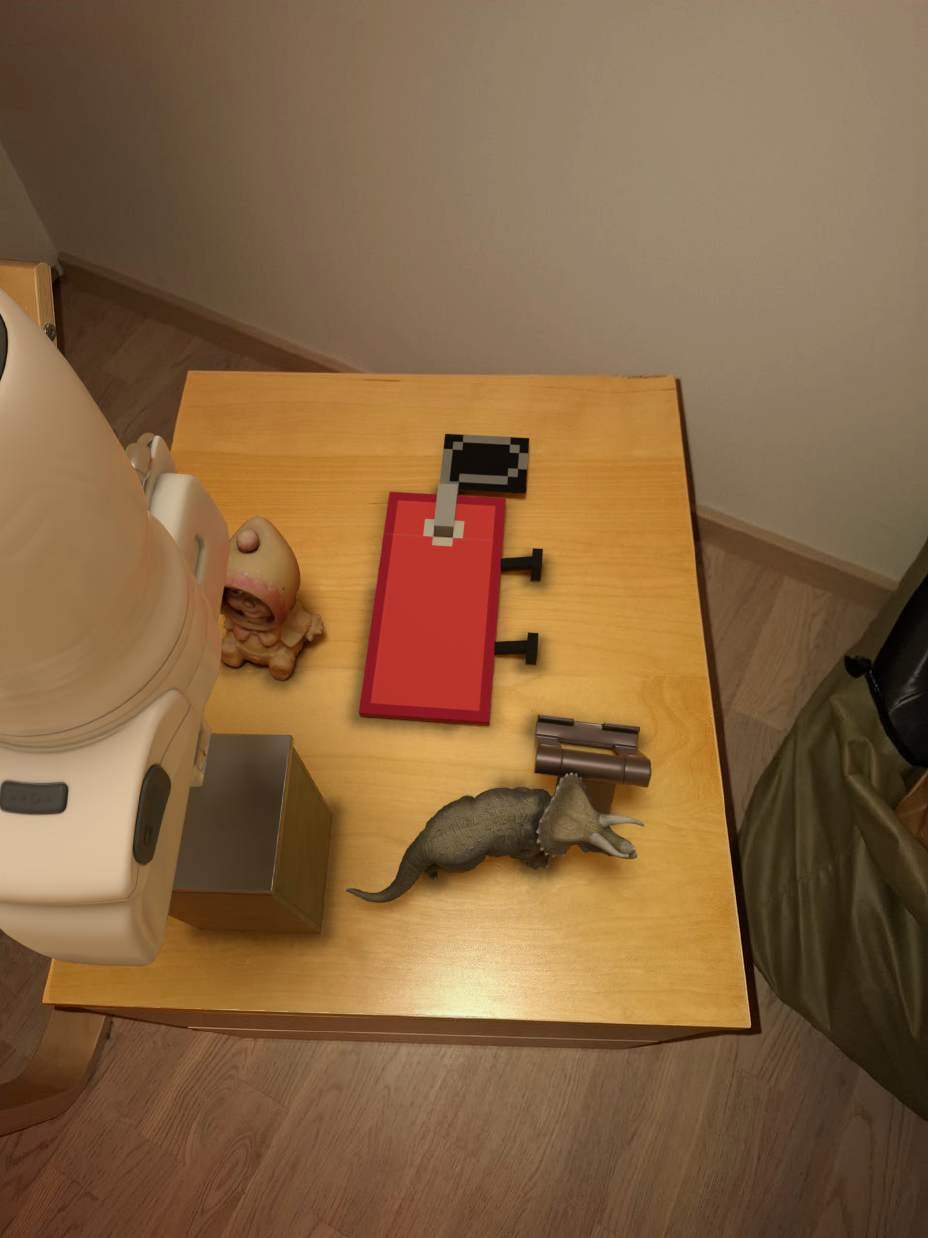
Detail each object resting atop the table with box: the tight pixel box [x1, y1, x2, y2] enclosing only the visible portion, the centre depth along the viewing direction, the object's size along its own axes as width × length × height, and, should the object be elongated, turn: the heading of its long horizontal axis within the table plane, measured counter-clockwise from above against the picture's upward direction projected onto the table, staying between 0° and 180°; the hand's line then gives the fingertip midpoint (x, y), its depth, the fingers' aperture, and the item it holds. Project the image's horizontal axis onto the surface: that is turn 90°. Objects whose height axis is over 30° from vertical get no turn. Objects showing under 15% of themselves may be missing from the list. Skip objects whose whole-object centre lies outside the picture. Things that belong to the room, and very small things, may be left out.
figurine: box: [219, 515, 325, 682], centre depth 76 cm, size 10×8×15 cm
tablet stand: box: [533, 714, 653, 815], centre depth 72 cm, size 9×8×8 cm
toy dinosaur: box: [345, 773, 646, 904], centre depth 68 cm, size 22×8×11 cm, turn 96°
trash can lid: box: [172, 732, 295, 894], centre depth 54 cm, size 10×10×1 cm
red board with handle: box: [358, 433, 544, 726], centre depth 83 cm, size 30×3×15 cm
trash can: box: [168, 745, 333, 935], centre depth 64 cm, size 10×10×20 cm
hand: (191, 758), depth 44 cm, fingers closed
